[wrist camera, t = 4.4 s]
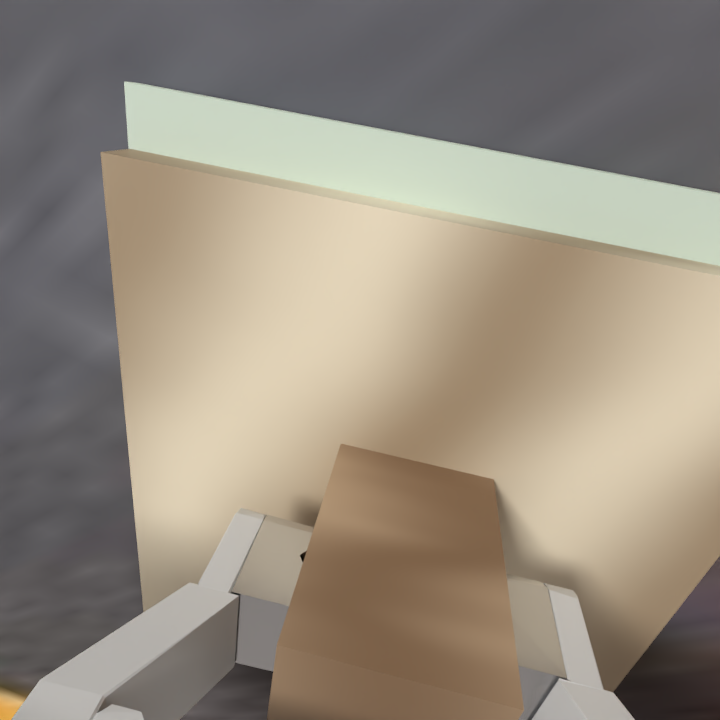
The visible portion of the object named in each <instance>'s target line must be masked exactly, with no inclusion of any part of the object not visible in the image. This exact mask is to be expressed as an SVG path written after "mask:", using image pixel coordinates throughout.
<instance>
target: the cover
mask: <svg viewBox="0 0 720 720" xmlns="http://www.w3.org/2000/svg"><path fill="white" fill-rule="evenodd" d="M101 162H102V172H103V183H104V194H105V205H106V215H107V226H108V237H109V247H110V258H111V269H112V279H113V290H114V301H115V311H116V322H117V333H118V343H119V354H120V365H121V376H122V386H123V397H124V408H125V418H126V429H127V440H128V450H129V461H130V472H131V482H132V493H133V504H134V514H135V525H136V536H137V547H138V557H139V568H140V579H141V589H142V600H143V611H144V612H145V611H146V610H148V609H149V608H151V607H152V606H154V605H156V604H157V603H159V602H160V601H162V600H163V599H165V598H166V597H168V596H169V595H171V594H172V593H174V592H175V591H177V590H179V589H180V588H182V587H183V586H185V585H186V584H188V583H189V582H190V583H194V584H198V583H199V581H200V579H201V577H202V575H203V573H204V572H205V570H206V568H207V566H208V564H209V562H210V560H211V558H212V556H213V555H214V553H215V551H216V549H217V547H218V545H219V543H220V541H221V539H222V538H223V536H224V534H225V532H226V530H227V528H228V526H229V524H230V522H231V521H232V519H233V517H234V515H235V514H236V513H237V512H238V510H239V509H240V508H244V509H247V510H251V511H255V512H259V513H262V514H266V515H271V516H274V517H278V518H282V519H285V520H289V521H293V522H296V523H300V524H303V525H307V526H311V527H314V529H313V533H312V536H311V539H310V542H309V545H308V548H307V552H306V555H305V558H304V561H303V564H302V567H301V570H300V574H299V577H298V580H297V583H296V586H295V589H294V592H293V596H292V599H291V602H290V605H289V608H288V611H287V614H286V618H285V621H284V624H283V627H282V630H281V633H280V636H279V640H278V643H277V647H276V655H275V662H274V670H273V677H272V685H271V693H270V700H269V708H268V715H267V720H518V719H519V717H520V716H521V714H522V713H523V711H524V706H523V698H522V690H521V683H520V675H519V668H518V660H517V652H516V645H515V637H514V630H513V622H512V615H511V607H510V599H509V592H508V584H507V577H506V574H509V575H513V576H518V577H522V578H526V579H531V580H535V581H539V582H542V583H546V584H550V585H554V586H558V587H562V588H566V589H570V590H573V591H574V592H575V593H576V595H577V596H578V599H579V603H580V606H581V610H582V613H583V617H584V620H585V624H586V628H587V631H588V635H589V638H590V642H591V645H592V649H593V652H594V656H595V660H596V663H597V667H598V670H599V674H600V677H601V681H602V684H603V688H604V690H607V691H610V692H614V690H615V689H616V688H617V686H618V685H619V684H620V683H621V681H622V680H623V679H624V678H625V676H626V675H627V674H628V672H629V671H630V670H631V669H632V667H633V666H634V665H635V663H636V662H637V661H638V660H639V658H640V657H641V656H642V654H643V653H644V652H645V651H646V649H647V648H648V647H649V646H650V644H651V643H652V642H653V640H654V639H655V638H656V637H657V635H658V634H659V633H660V631H661V630H662V629H663V628H664V626H665V625H666V624H667V623H668V621H669V620H670V619H671V617H672V616H673V615H674V614H675V612H676V611H677V610H678V608H679V607H680V606H681V605H682V603H683V602H684V601H685V599H686V598H687V597H688V596H689V594H690V593H691V592H692V591H693V589H694V588H695V587H696V585H697V584H698V583H699V582H700V580H701V579H702V578H703V576H704V575H705V574H706V573H707V571H708V570H709V569H710V568H711V566H712V565H713V564H714V562H715V561H716V560H717V559H718V557H719V556H720V266H717V265H712V264H707V263H702V262H697V261H692V260H687V259H682V258H677V257H672V256H667V255H662V254H657V253H652V252H647V251H642V250H637V249H632V248H627V247H622V246H617V245H612V244H607V243H602V242H597V241H592V240H587V239H582V238H576V237H571V236H566V235H561V234H556V233H551V232H546V231H541V230H536V229H531V228H526V227H521V226H516V225H511V224H506V223H501V222H496V221H491V220H486V219H481V218H476V217H471V216H466V215H461V214H456V213H451V212H446V211H441V210H436V209H431V208H426V207H421V206H416V205H410V204H405V203H400V202H395V201H390V200H385V199H380V198H375V197H370V196H365V195H360V194H355V193H350V192H345V191H340V190H335V189H330V188H325V187H320V186H315V185H310V184H305V183H300V182H295V181H290V180H285V179H280V178H275V177H270V176H265V175H260V174H255V173H249V172H244V171H239V170H234V169H229V168H224V167H219V166H214V165H209V164H204V163H199V162H194V161H189V160H184V159H179V158H174V157H169V156H164V155H159V154H154V153H149V152H144V151H139V150H134V149H125V150H116V151H107V152H101Z"/></svg>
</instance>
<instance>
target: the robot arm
mask: <svg viewBox="0 0 720 720" xmlns="http://www.w3.org/2000/svg"><path fill="white" fill-rule="evenodd" d="M313 529H314V527H311V526H307V525H303V524H300V523H296V522H293V521H289V520H285V519H282V518H278V517H274V516H271V515H266V514H262V513H259V512H255V511H251V510H247V509H244V508H240V509H239V510H238V512H237V513H236V514H235V515H234V517H233V519H232V521H231V522H230V524H229V526H228V528H227V530H226V532H225V534H224V536H223V538H222V539H221V541H220V543H219V545H218V547H217V549H216V551H215V553H214V555H213V556H212V558H211V560H210V562H209V564H208V566H207V568H206V570H205V572H204V573H203V575H202V577H201V579H200V581H199V583H198V584H194V583H190V582H189V583H188V584H186V585H185V586H183V587H182V588H180V589H179V590H177V591H175V592H174V593H172V594H171V595H169V596H168V597H166V598H165V599H163V600H162V601H160V602H159V603H157V604H156V605H154V606H152V607H151V608H149V609H148V610H146V611H145V612H143V613H142V614H140V615H139V616H137V617H136V618H134V619H133V620H131V621H129V622H128V623H126V624H125V625H123V626H122V627H120V628H119V629H117V630H116V631H114V632H113V633H111V634H110V635H108V636H106V637H105V638H103V639H102V640H100V641H99V642H97V643H96V644H94V645H93V646H91V647H90V648H88V649H87V650H85V651H83V652H82V653H80V654H79V655H77V656H76V657H74V658H73V659H71V660H70V661H68V662H67V663H65V664H64V665H62V666H60V667H59V668H57V669H56V670H54V671H53V672H51V673H50V674H48V675H47V676H45V677H44V678H42V679H40V681H39V682H38V683H37V685H36V686H35V688H34V689H33V690H32V692H31V693H30V694H29V696H28V697H27V699H26V700H25V701H24V703H23V704H22V706H21V707H20V708H19V710H18V711H17V712H16V714H15V715H14V717H13V718H12V719H11V720H180V719H181V718H182V717H183V716H184V715H185V714H186V713H187V712H188V711H189V710H190V709H191V708H192V707H193V706H194V705H195V704H196V703H197V702H198V701H199V700H200V699H201V698H202V697H203V696H204V695H205V694H206V693H207V692H208V691H209V690H210V689H212V688H213V687H214V686H215V685H216V684H217V683H218V682H219V681H220V680H221V679H222V678H223V677H224V676H225V675H226V674H227V673H228V672H229V671H230V670H231V669H232V668H233V667H234V666H235V663H239V664H243V665H248V666H252V667H256V668H260V669H264V670H269V671H273V670H274V662H275V655H276V647H277V643H278V640H279V636H280V633H281V630H282V627H283V624H284V621H285V618H286V614H287V611H288V608H289V605H290V602H291V599H292V596H293V592H294V589H295V586H296V583H297V580H298V577H299V574H300V570H301V567H302V564H303V561H304V558H305V555H306V552H307V548H308V545H309V542H310V539H311V536H312V533H313ZM506 577H507V584H508V592H509V599H510V607H511V615H512V622H513V630H514V637H515V645H516V652H517V660H518V668H519V675H520V683H521V690H522V698H523V706H524V711H523V713H522V714H521V716H520V717H519V719H518V720H635V719H634V718H633V717H632V715H631V714H630V713H629V711H628V710H627V709H626V708H625V706H624V705H623V704H622V703H621V701H620V700H619V699H618V698H617V696H616V695H615V694H614V693H613V692H610V691H607V690H604V688H603V684H602V681H601V677H600V674H599V670H598V667H597V663H596V660H595V656H594V652H593V649H592V645H591V642H590V638H589V635H588V631H587V628H586V624H585V620H584V617H583V613H582V610H581V606H580V603H579V599H578V596H577V595H576V593H575V592H574V591H573V590H570V589H566V588H562V587H558V586H554V585H550V584H546V583H542V582H539V581H535V580H531V579H526V578H522V577H518V576H513V575H509V574H506Z"/></svg>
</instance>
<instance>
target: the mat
mask: <svg viewBox="0 0 720 720" xmlns="http://www.w3.org/2000/svg"><path fill="white" fill-rule="evenodd" d="M124 87H125V102H126V117H127V132H128V147H129V149H134V150H139V151H144V152H149V153H154V154H159V155H164V156H169V157H174V158H179V159H184V160H189V161H194V162H199V163H204V164H209V165H214V166H219V167H224V168H229V169H234V170H239V171H244V172H249V173H255V174H260V175H265V176H270V177H275V178H280V179H285V180H290V181H295V182H300V183H305V184H310V185H315V186H320V187H325V188H330V189H335V190H340V191H345V192H350V193H355V194H360V195H365V196H370V197H375V198H380V199H385V200H390V201H395V202H400V203H405V204H410V205H416V206H421V207H426V208H431V209H436V210H441V211H446V212H451V213H456V214H461V215H466V216H471V217H476V218H481V219H486V220H491V221H496V222H501V223H506V224H511V225H516V226H521V227H526V228H531V229H536V230H541V231H546V232H551V233H556V234H561V235H566V236H571V237H576V238H582V239H587V240H592V241H597V242H602V243H607V244H612V245H617V246H622V247H627V248H632V249H637V250H642V251H647V252H652V253H657V254H662V255H667V256H672V257H677V258H682V259H687V260H692V261H697V262H702V263H707V264H712V265H717V266H720V193H716V192H711V191H706V190H701V189H695V188H690V187H685V186H679V185H674V184H669V183H664V182H658V181H653V180H648V179H642V178H637V177H632V176H627V175H621V174H616V173H611V172H606V171H600V170H595V169H590V168H584V167H579V166H574V165H569V164H563V163H558V162H553V161H547V160H542V159H537V158H532V157H526V156H521V155H516V154H511V153H505V152H500V151H495V150H489V149H484V148H479V147H474V146H468V145H463V144H458V143H452V142H447V141H442V140H437V139H431V138H426V137H421V136H416V135H410V134H405V133H400V132H394V131H389V130H384V129H379V128H373V127H368V126H363V125H357V124H352V123H347V122H342V121H336V120H331V119H326V118H321V117H315V116H310V115H305V114H299V113H294V112H289V111H284V110H278V109H273V108H268V107H263V106H257V105H252V104H247V103H241V102H236V101H231V100H226V99H220V98H215V97H210V96H204V95H199V94H194V93H189V92H183V91H178V90H173V89H168V88H162V87H157V86H152V85H146V84H141V83H134V82H124Z"/></svg>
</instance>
